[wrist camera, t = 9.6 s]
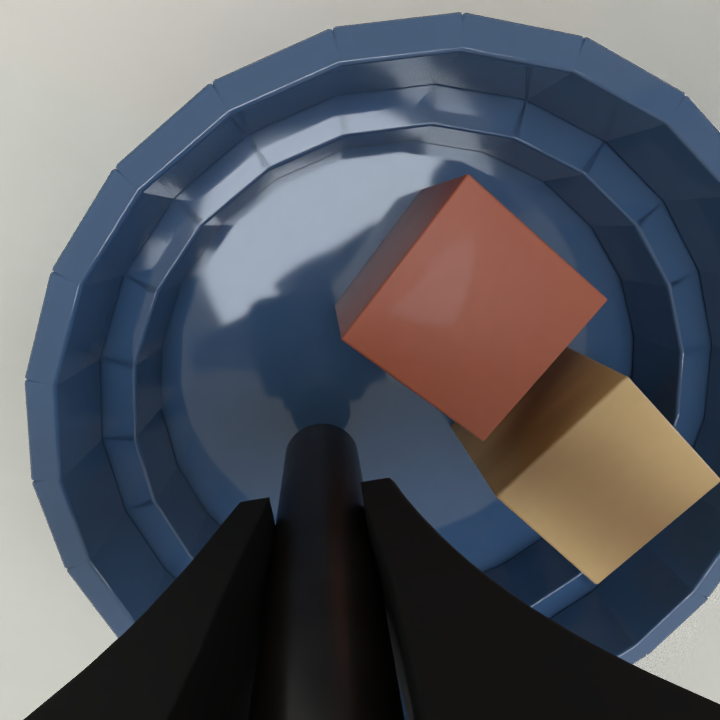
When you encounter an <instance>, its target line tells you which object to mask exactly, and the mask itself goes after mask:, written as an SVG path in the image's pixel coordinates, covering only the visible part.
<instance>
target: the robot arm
mask: <svg viewBox="0 0 720 720" xmlns="http://www.w3.org/2000/svg"><path fill="white" fill-rule="evenodd" d="M360 483H361V489H362V496H363V503H364V509H365V515H366V521H367V528H368V534H369V539H370V543H371V547H372V551H373V554H374V558H375V562H376V566H377V570H378V574H379V578H380V583H381V587H382V593H383V598H384V604H385V610H386V616H387V621H388V627H389V633H390V638H391V644H392V650H393V656H394V661H395V667H396V673H397V677H398V681H399V685H400V689H401V693H402V697H403V700H404V704H405V708H406V712H407V716H408V720H720V704H718V703H716V702H713V701H711V700H709V699H707V698H704V697H702V696H700V695H698V694H695V693H693V692H691V691H689V690H687V689H684V688H682V687H680V686H678V685H675V684H673V683H671V682H669V681H666V680H664V679H662V678H660V677H657V676H655V675H653V674H651V673H649V672H647V671H644V670H642V669H640V668H638V667H636V666H634V665H632V664H631V663H629V662H627V661H625V660H623V659H621V658H619V657H617V656H615V655H613V654H611V653H609V652H607V651H605V650H604V649H602V648H600V647H598V646H596V645H594V644H592V643H590V642H588V641H587V640H585V639H583V638H581V637H580V636H578V635H576V634H574V633H573V632H571V631H569V630H568V629H566V628H564V627H563V626H561V625H559V624H558V623H556V622H555V621H553V620H551V619H550V618H548V617H546V616H545V615H543V614H541V613H540V612H538V611H536V610H535V609H533V608H531V607H530V606H529V605H527V604H526V603H524V602H523V601H521V600H520V599H518V598H517V597H515V596H514V595H512V594H511V593H510V592H508V591H507V590H506V589H504V588H503V587H502V586H500V585H499V584H498V583H496V582H495V581H493V580H492V579H491V578H489V577H488V576H487V575H486V574H484V573H483V572H482V571H481V570H479V569H478V568H477V567H476V566H475V565H473V564H472V563H471V562H470V561H469V560H467V559H466V558H465V557H464V556H463V555H462V554H461V553H460V552H458V551H457V550H456V549H455V548H454V547H453V546H452V545H451V544H450V543H449V542H447V541H446V540H445V539H444V538H443V537H442V536H441V535H440V534H439V533H438V532H437V531H436V530H435V529H434V528H433V527H432V526H431V525H430V524H429V523H428V522H427V521H426V520H425V519H424V517H423V516H422V515H421V514H420V513H419V512H418V511H417V510H416V509H415V507H414V506H413V505H412V504H411V503H410V502H409V500H408V499H407V498H406V497H405V495H404V494H403V493H402V492H401V490H400V489H399V487H398V486H397V485H396V483H395V482H394V481H393V480H392V479H390V478H383V479H377V480H371V481H364V482H360ZM274 532H275V521H274V517H273V512H272V507H271V503H270V498H269V497H267V498H261V499H255V500H249V501H243V502H240V503H239V504H238V505H237V506H236V507H235V509H234V510H233V511H232V512H231V514H230V515H229V516H228V517H227V519H226V520H225V521H224V522H223V524H222V525H221V526H220V527H219V529H218V530H217V531H216V532H215V533H214V535H213V536H212V537H211V538H210V540H209V541H208V542H207V543H206V545H205V546H204V547H203V548H202V549H201V551H200V552H199V553H198V554H197V555H196V556H195V558H194V559H193V560H192V561H191V562H190V564H189V565H188V566H187V567H186V568H185V569H184V571H183V572H182V573H181V574H180V575H179V576H178V577H177V578H176V579H175V580H174V581H173V583H172V584H171V585H170V586H169V587H168V588H167V589H166V590H165V591H164V592H163V593H162V594H161V596H160V597H159V598H158V599H157V600H156V601H155V602H154V603H153V604H152V605H151V606H150V608H149V609H148V610H147V611H146V612H145V613H144V614H143V615H142V616H141V617H140V618H139V619H138V620H137V621H136V622H135V623H134V624H133V625H132V626H131V627H130V628H129V629H128V630H127V631H126V632H125V633H123V634H122V635H121V636H120V637H119V638H118V639H117V640H116V641H115V642H114V643H113V644H112V645H111V646H109V647H108V648H107V649H106V650H105V651H104V652H103V653H102V654H101V655H100V656H99V657H98V658H97V659H95V660H94V661H93V662H92V663H91V664H90V665H89V666H88V667H86V668H85V669H84V670H83V671H82V672H81V673H79V674H78V675H77V676H76V677H75V678H73V679H72V680H71V681H70V682H69V683H67V684H66V685H65V686H64V687H63V688H61V689H60V690H59V691H58V692H56V693H55V694H54V695H53V696H52V697H50V698H49V699H48V700H47V701H46V702H44V703H43V704H42V705H41V706H40V707H38V708H37V709H36V710H35V711H34V712H32V713H31V714H30V715H29V716H27V717H26V718H25V719H24V720H248V717H249V709H250V702H251V695H252V688H253V681H254V674H255V667H256V660H257V653H258V646H259V639H260V631H261V624H262V617H263V610H264V603H265V596H266V589H267V582H268V575H269V568H270V561H271V554H272V547H273V540H274Z"/></svg>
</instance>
